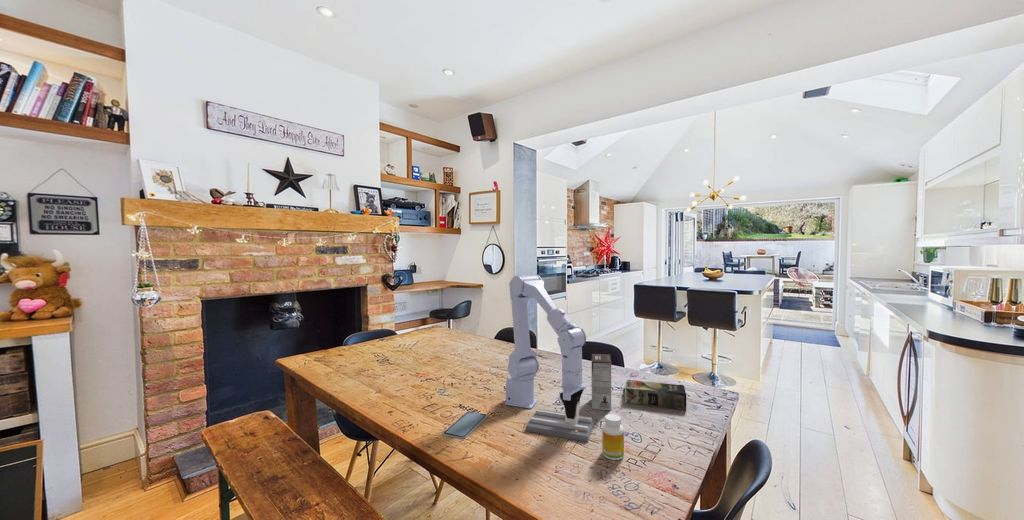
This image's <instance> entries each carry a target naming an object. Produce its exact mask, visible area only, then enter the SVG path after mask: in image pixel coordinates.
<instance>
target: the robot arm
mask: <svg viewBox="0 0 1024 520" xmlns="http://www.w3.org/2000/svg"><path fill="white" fill-rule="evenodd" d="M509 295H510V301H511V303H510V304H511V315H512V316H511V317H512V327H513V339H514V349H513V351H512V352H511V353H510V354H509V355H508V363H507V372H508V374H509V375H508V376H507V379H506V382H505V402H504V405H506V406H512V407H517V408H525V409H530V410H531V409H532V408H533V407H534V406H535V405H536V403H537V402H538V400H539V398H537V397H535V378H536V377H537V374H538V373H539V370H540V362H539V360H538V357H537V355H538V354H537V352H536V351H535V350H533V349H532V348H531V339H530V338H531V336H530V325H529V312H528V311H529V310H528V302H529V301H530V299H533V298H534V300H535V301H536V302H537V303H538V304H539V306H540V307H541V308H542V309H543V311H544V312H545V313H546V321H547V322H548V324H549V325H550V327H551V328H552V329H553V330H554V332H555V334H556V335H557V336H558V337H557V338H556V339H557V343H558V346H559V348H560V355H561V376H562V377H561V380H562V381H561V389H562V392H560V394H559V397H560V400H561V402H562V404H563V407H564V413H565V412H566V416H567V418H569V419H574V418H575V414H576V407H577V403H578V401H579V403H581V402H580V401H581V398H582V395H583V392H584V390H586V389H587V385H586V384H585V383H583V346H584V345H586V342H587V336H586V332H585V331H584V328H583V327H580V326H577V325H576V324H574V323H573V321H572V320H571V319H570V318H569V316H568V315H567V314H566V311H565V310H564V309H562V308H560V307H559V308H558V307H557V306H556V304H555V303H554V301H553V300H552V298H551V296H550V294H549V293H548V292H547V290H546V288H545V281H544V280H543V278H542V277H541V276H540V275H539V274H527V275H514V276H513V277H512V278H511V280H509Z"/></svg>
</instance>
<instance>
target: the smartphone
mask: <svg viewBox="0 0 1024 520" xmlns="http://www.w3.org/2000/svg"><path fill="white" fill-rule="evenodd" d="M487 415H488V414H486V413H482V412H475V411H470V410H469V411H466V412H465V413H463V415H461V416H460V417H459V418H458V419H457V420H455V421H454V423H452V424H451V425H450V426H449V427H447V428H446V430H444V431H443V432H442V434H443V436H446V437H452V438H455V439H460V440H463V439H466V438H467V437H468V436H469V435H471V434H472V432H474V431H475V430H476V429H477V428H478V427H479V426H480V425H481V424H482V423H483V422H484V421H485V420H486V419H487V417H488V416H487Z"/></svg>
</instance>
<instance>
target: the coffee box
mask: <svg viewBox="0 0 1024 520" xmlns="http://www.w3.org/2000/svg"><path fill="white" fill-rule="evenodd" d="M611 358H612V357H611V354H610V353H609V354H607V353H606V354H605V353H603V354H602V353H591V409H592V410H598V411H599V410H601V411H612V359H611Z"/></svg>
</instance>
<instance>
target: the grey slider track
mask: <svg viewBox="0 0 1024 520" xmlns="http://www.w3.org/2000/svg"><path fill="white" fill-rule="evenodd" d="M595 423H596V417H593V416H588V415H580V414H579V421H578V423H577V425H576V424H570V423H565V412H561V411H555V410H548V409H544V408H543V409H540V408H537V409H536V410H535V412H534V414H533V415H532V416H531V417H530V419H529V421H528V422H527V423H526V424H525V431H526V432H532V433H535V434H536V433H537V434H543V435H547V436H552V437H553V436H554V437H559V438H565V439H568V440H569V439H571V440H575V441H580V442H587V443H588V442H589V440H590V439H591V438H590V437H591V435H592V432H593V429H594V426H595Z"/></svg>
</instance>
